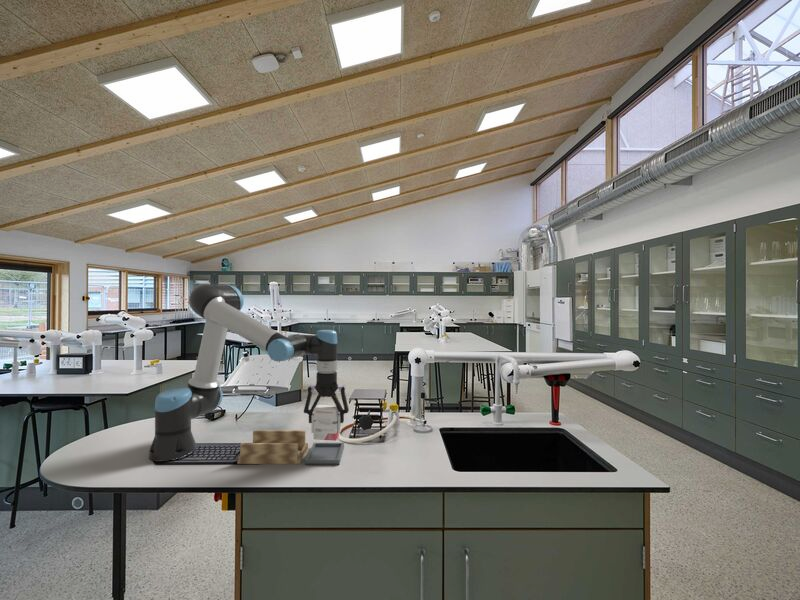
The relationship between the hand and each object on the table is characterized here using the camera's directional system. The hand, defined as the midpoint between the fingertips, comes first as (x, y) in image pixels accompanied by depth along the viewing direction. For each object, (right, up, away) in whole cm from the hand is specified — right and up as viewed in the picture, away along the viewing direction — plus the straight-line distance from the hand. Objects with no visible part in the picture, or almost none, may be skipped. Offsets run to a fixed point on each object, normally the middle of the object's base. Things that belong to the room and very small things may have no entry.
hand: (326, 431), depth 144 cm
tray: (0, -9, 0) cm, 9 cm away
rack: (-19, -9, -1) cm, 21 cm away
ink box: (0, -3, 0) cm, 3 cm away
